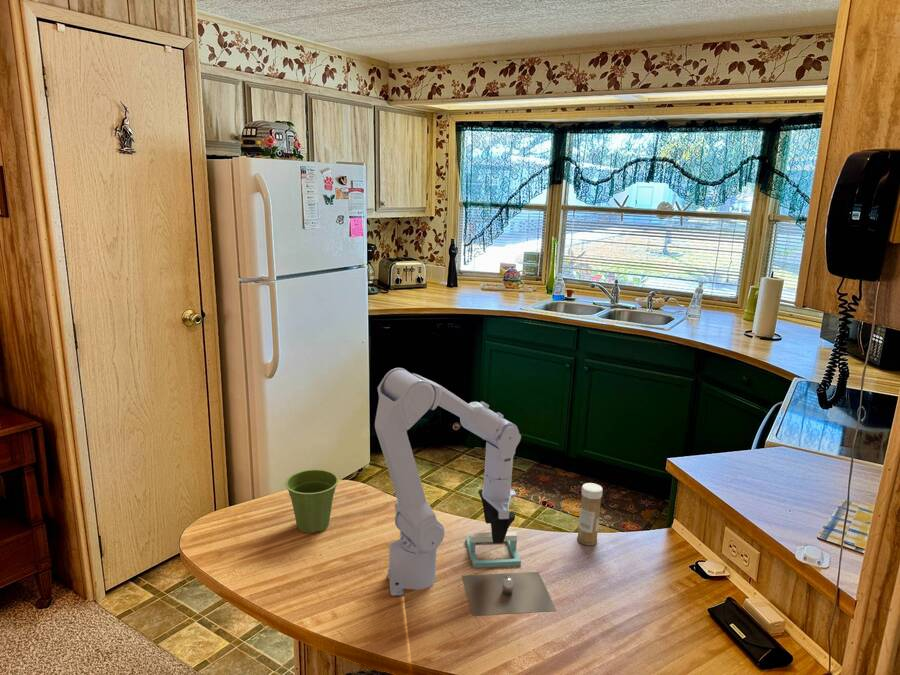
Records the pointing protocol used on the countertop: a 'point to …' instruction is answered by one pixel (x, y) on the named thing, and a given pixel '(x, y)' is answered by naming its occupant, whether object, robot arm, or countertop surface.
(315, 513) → the plant pot
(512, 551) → the teal square frame
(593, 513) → the sprinkles bottle
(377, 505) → the countertop surface
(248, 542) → the countertop surface
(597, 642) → the countertop surface
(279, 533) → the countertop surface
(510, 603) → the post stand
